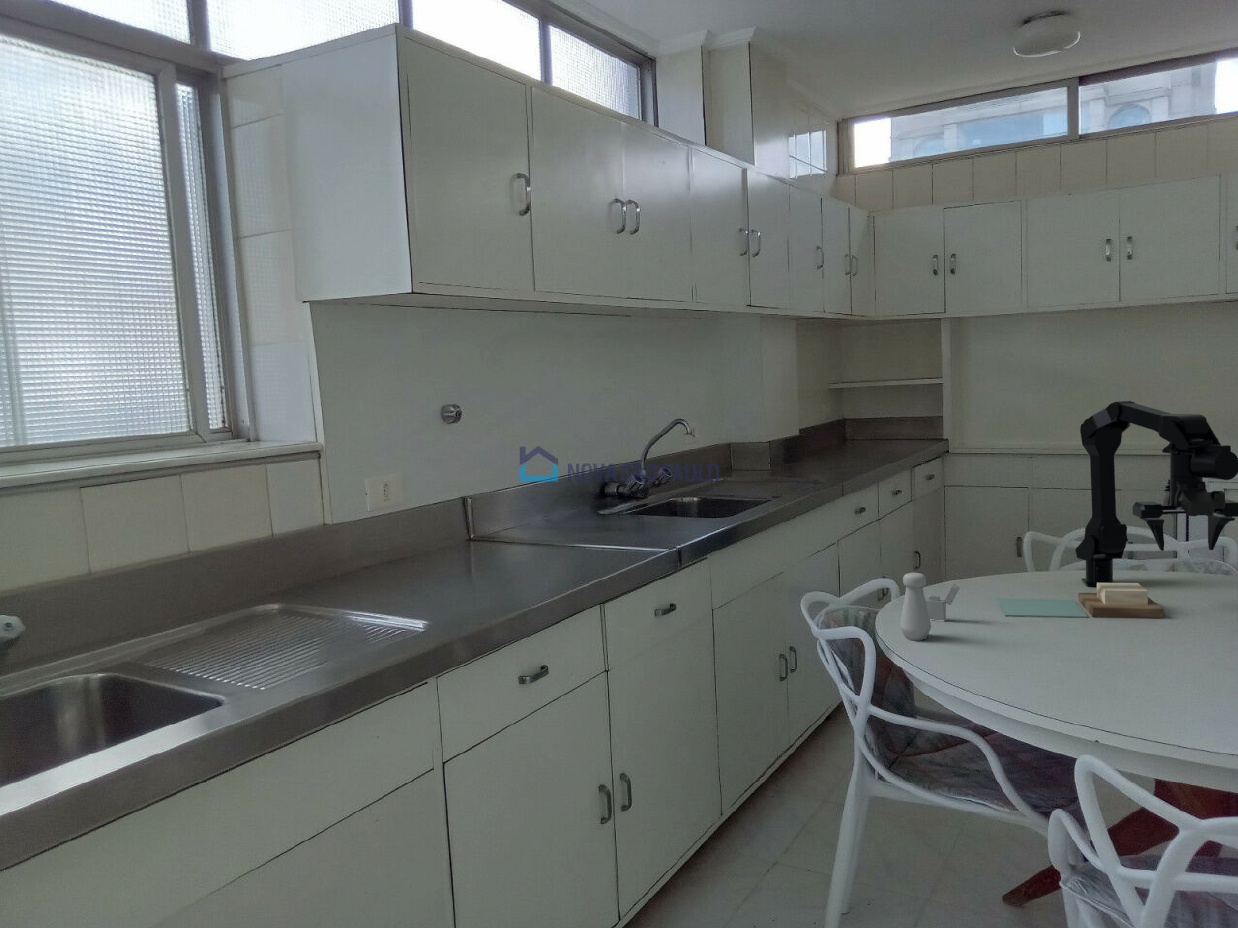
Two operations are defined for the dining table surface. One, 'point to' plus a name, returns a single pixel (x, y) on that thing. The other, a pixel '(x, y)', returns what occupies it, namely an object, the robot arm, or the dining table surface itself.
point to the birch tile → (1122, 593)
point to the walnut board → (1119, 608)
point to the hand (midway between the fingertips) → (1186, 550)
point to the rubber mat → (1041, 608)
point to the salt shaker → (915, 608)
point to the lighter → (940, 604)
